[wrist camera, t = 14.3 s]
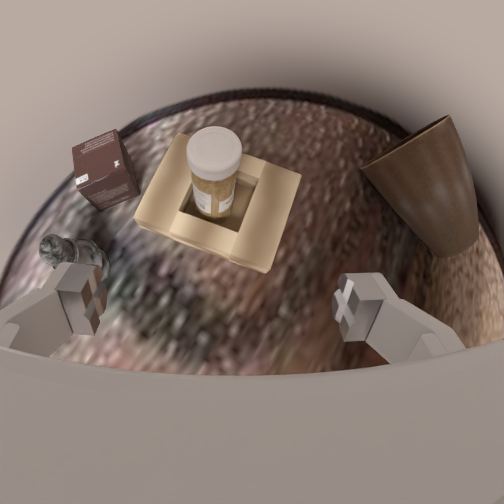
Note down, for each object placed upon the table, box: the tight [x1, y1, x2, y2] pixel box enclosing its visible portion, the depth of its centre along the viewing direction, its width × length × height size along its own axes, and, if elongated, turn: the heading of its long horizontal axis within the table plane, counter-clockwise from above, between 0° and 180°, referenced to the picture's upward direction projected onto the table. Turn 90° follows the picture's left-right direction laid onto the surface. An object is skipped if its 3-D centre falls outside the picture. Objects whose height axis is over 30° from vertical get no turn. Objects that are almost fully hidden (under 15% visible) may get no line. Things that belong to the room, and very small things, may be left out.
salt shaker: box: [39, 234, 110, 284], centre depth 27 cm, size 6×6×12 cm
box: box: [72, 129, 140, 211], centre depth 32 cm, size 6×6×7 cm
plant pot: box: [360, 115, 479, 257], centre depth 34 cm, size 15×15×16 cm
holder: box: [133, 132, 302, 274], centre depth 35 cm, size 16×12×4 cm
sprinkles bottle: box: [187, 126, 242, 224], centre depth 29 cm, size 5×5×14 cm
